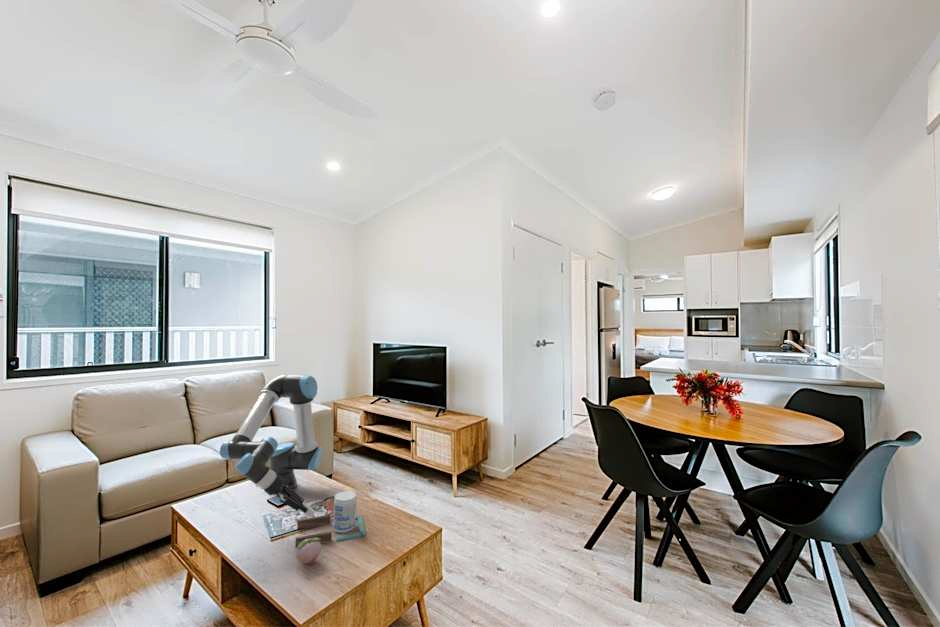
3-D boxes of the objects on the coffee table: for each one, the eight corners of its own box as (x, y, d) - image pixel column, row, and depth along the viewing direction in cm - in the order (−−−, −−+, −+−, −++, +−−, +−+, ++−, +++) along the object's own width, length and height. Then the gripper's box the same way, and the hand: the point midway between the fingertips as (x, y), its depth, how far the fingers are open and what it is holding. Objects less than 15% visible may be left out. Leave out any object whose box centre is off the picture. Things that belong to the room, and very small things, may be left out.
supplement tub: (332, 535, 170) (333, 501, 170) (333, 523, 179) (334, 491, 179) (355, 532, 173) (356, 499, 173) (355, 520, 182) (356, 489, 182)
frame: (334, 520, 182) (334, 519, 182) (361, 516, 186) (361, 514, 186) (336, 541, 166) (336, 539, 166) (365, 536, 170) (365, 534, 170)
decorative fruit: (313, 553, 157) (314, 528, 157) (324, 562, 152) (325, 536, 152) (290, 564, 150) (291, 538, 150) (301, 574, 145) (301, 547, 145)
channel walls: (297, 527, 176) (297, 519, 176) (330, 522, 181) (330, 514, 181) (295, 547, 161) (295, 539, 161) (331, 541, 166) (331, 533, 166)
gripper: (265, 482, 170) (305, 513, 176) (261, 496, 158) (305, 529, 164) (278, 468, 172) (318, 500, 178) (276, 481, 160) (319, 514, 166)
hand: (312, 514), depth 171 cm, fingers closed
